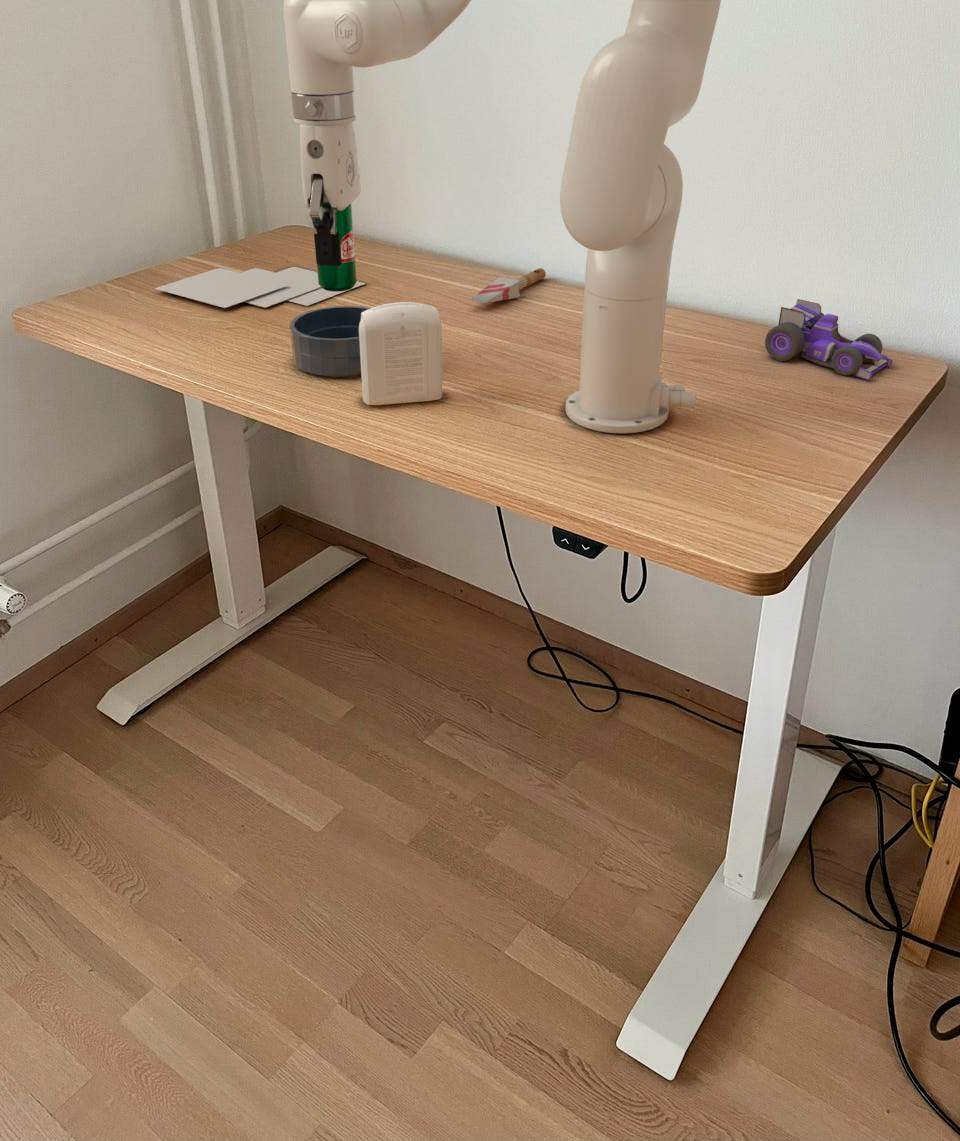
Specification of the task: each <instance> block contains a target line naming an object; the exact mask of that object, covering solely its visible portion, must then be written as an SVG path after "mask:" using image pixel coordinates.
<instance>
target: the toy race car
mask: <svg viewBox="0 0 960 1141" xmlns="http://www.w3.org/2000/svg"><path fill="white" fill-rule="evenodd" d="M838 320H839V316H838V315H835V314H831V313H827V314H824V313H823V312H822V306H821V304H820V303H818V302H813V301H809V300H805V299H800V298H797V299H796V303H795V305H793V307H790V308H788V307H784V306H781V307H780V312H779V319H778V324H777V325H775V326H773V327H772V328H771V329H770V330H768V332H767V333H766V335H765V339H764V346H765V349H766V352H767V354H768V355H769V356H770V357H771V358H772V359H774V360H776V361H780V362H785V361H789V360H790V359H792V358H794V357H796V356H798V355H800V358H802V359H805V360H807V361H810V362H811V363H812V362H813V363H815V364H817V365H819V366H823V367H827V368H829V369H833V370H834V371H835V373H837V374H839V375H841V376H850V375H852V374H854V373H856V374H855V377H857V378H860V379H864V380H867V381H871V380H872V377H873V374H875V373H876V372H878V371H880V370H881V369H883V368H885V367H891V366H892V365H893V361H894V359H892V358H890V357H888V356H886V355H885V354H882V352H883V342H882V340H881V339H880V337H879V336H877V335H876V334H873V333H865V334H862V335H860V336H858V337H857V338H856V339H855V340H852V339H849V338H846V337H844V335H841V334H840V332H839V323H838ZM801 352H802V353H801ZM800 353H801V354H800ZM870 362H874V364H873V365H871V366H870V367H868V368H864V367H862V365H863V363H864V364H865V363H870Z"/></svg>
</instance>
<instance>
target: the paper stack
mask: <svg viewBox="0 0 960 1141" xmlns="http://www.w3.org/2000/svg"><path fill="white" fill-rule="evenodd" d="M364 285H366V282H361V281H357V282H356V284H355V286H354V287H353V288H351V289H349V290H346V291H338V292H334V291H327V290H324V289H323V288H321V286H320V285H319V284H318V275H317V271H315V270H310V269H305V268H302V267H297V266H291V267H288V268H285V269H282V270H279V271H276V272H275V271H272V270H267V269H262V268H258V267H254V268H251V269H248V270H244V271H240V272H239V271H234V270H230V269H226V268H222V267H217V268H214V269H211V270H208V271H205V272H202V273H199V274H195V275H191V276H189V277H186V278H183V279H179V280H176V281H174V282H169V283H167V284H164V285H160V286H157V287H155V288H154V290H156V291H157V290H158V291H161V292H166V293H169V294H172V295H177V296H180V297H184V298H187V299H191V300H194V301H197V302H201V303H205V304H208V305H212V306H216V307H218V308H219V307H220V308H223V309H226V308H229V307H232V306H235V305H238V304H240V303H246V304H250V305H253V306H257V307H262V308H265V309H266V308H269V307H271V306H274V305H276V304H279V303H282V302H291V303H295V304H298V305H301V306H306V307H308V306H311V305H313V304H314V305H315V303H320V302H321V301H324V300H326V299H329V298H332V297H335V296H337V295H340V294H342V293H345V292H348V291H350V290H353V289H355V288H358V287H360V286H364Z"/></svg>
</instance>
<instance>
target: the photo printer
mask: <svg viewBox="0 0 960 1141" xmlns="http://www.w3.org/2000/svg"><path fill="white" fill-rule="evenodd" d="M370 308H371V309H368V310H366V311H364V312H362V313H361V321H360V324H359V342H360V359H361V375H360V376H361V391H362V392H361V393H362V402H364V404H366V405H368V406H383V405H384V406H385V405H395V404H407V403H418V402H429V401H437V400H438V401H439V400H441V399H442V398H443V337H442V335H443V334H442V333H443V331H442V329H443V328H442V322H441V317H440V312H439V310H438V309H437V307H436V306H433V305H430V304H426V303H421V302H413V301H398V302H397V301H396V302H390V303H385V304H380V305H377V306H374V307H370Z"/></svg>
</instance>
